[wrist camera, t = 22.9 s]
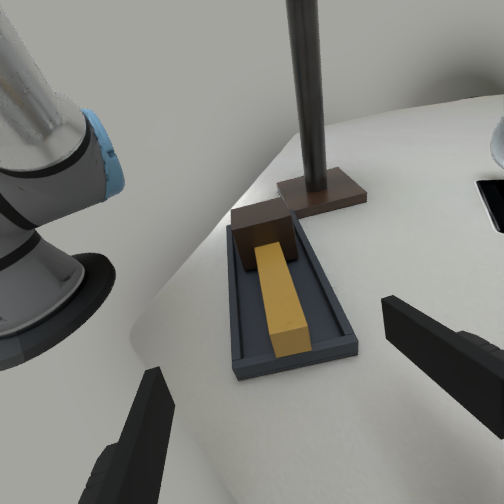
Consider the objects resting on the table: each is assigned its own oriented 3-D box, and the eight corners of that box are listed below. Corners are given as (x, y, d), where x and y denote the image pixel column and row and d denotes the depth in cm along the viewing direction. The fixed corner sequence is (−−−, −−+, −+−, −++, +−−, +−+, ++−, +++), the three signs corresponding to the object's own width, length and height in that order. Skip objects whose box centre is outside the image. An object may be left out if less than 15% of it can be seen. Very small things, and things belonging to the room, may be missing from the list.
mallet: (336, 345, 21) (331, 290, 18) (252, 363, 21) (233, 313, 18) (289, 235, 37) (282, 196, 34) (241, 247, 38) (230, 209, 34)
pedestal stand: (366, 201, 40) (380, -104, 23) (291, 220, 41) (247, -63, 23) (338, 174, 50) (332, -55, 32) (277, 190, 51) (238, -26, 33)
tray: (358, 354, 22) (358, 341, 21) (238, 381, 23) (231, 369, 22) (294, 219, 41) (292, 208, 40) (229, 235, 42) (226, 225, 40)
